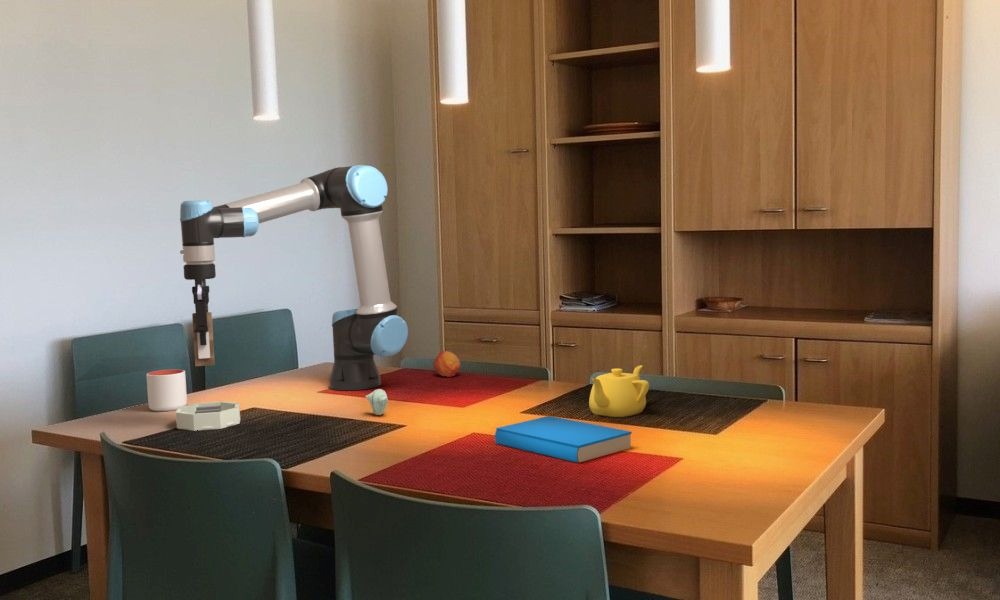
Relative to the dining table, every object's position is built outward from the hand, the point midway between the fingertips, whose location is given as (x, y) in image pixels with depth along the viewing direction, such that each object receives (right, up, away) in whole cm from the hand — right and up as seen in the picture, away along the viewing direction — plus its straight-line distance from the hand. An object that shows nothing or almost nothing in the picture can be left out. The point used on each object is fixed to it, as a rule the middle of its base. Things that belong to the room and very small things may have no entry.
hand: (204, 356), depth 246 cm
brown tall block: (0, -2, 0) cm, 2 cm away
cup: (-17, -16, +23) cm, 33 cm away
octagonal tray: (+1, -17, +2) cm, 17 cm away
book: (+87, -18, -33) cm, 95 cm away
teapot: (+104, -14, -2) cm, 105 cm away
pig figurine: (+43, -15, +5) cm, 46 cm away
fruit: (+58, -10, +59) cm, 83 cm away
